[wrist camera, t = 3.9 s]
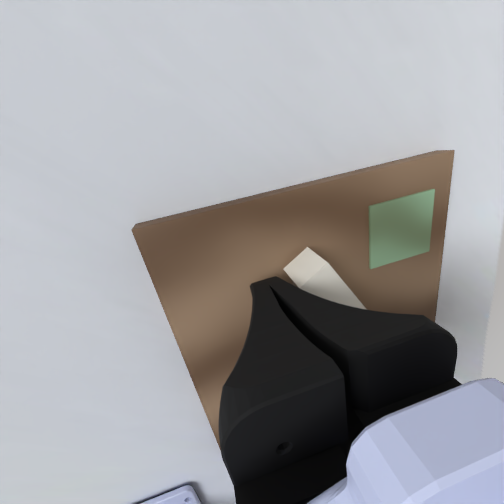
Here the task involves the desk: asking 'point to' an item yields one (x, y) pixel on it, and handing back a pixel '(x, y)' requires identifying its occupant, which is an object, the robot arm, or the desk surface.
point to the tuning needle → (320, 279)
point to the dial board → (290, 246)
